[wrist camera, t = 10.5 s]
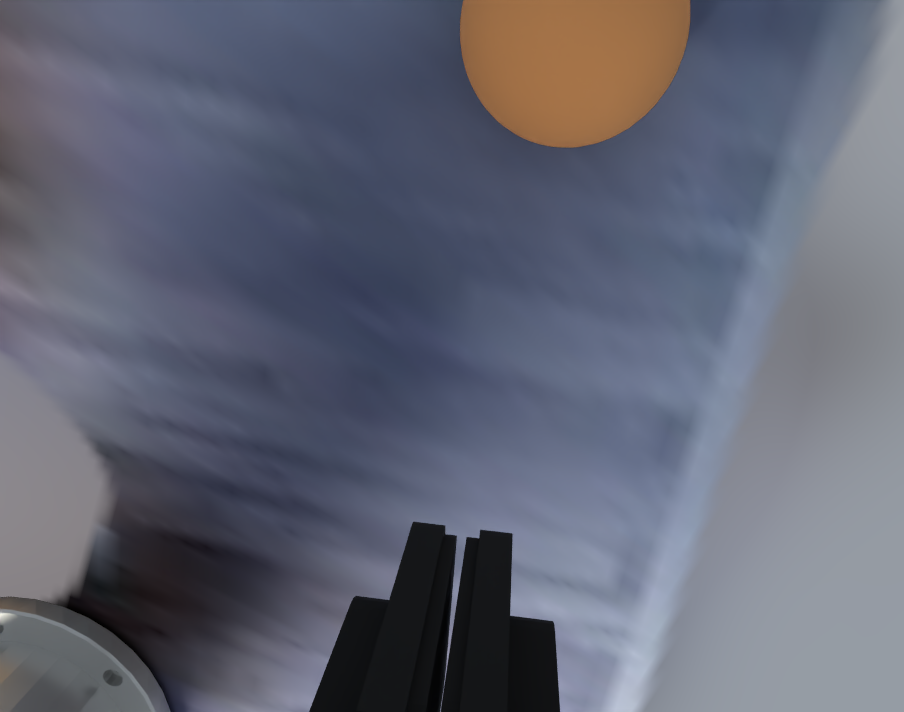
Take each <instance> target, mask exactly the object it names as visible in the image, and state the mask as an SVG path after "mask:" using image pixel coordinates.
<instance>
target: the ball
mask: <svg viewBox="0 0 904 712" xmlns="http://www.w3.org/2000/svg"><path fill="white" fill-rule="evenodd" d="M689 27H690V0H463V4H462V11H461V18H460V43H461V51H462V58H463V62H464V65H465V69H466V73H467V76H468V78H469V80H470V83H471V85H472V88H473V89H474V91H475V93H476V95H477V96H478V98H479V100H480V101H481V103H482V104H483V106H484V107H485V108H486V109H487V111H488V112H489V113H490V114H491V115H492V116H493V117H494V118H495V119H496V120H497V121H498V122H499V123H500V124H501V125H503V126H504V127H505V128H507V129H508V130H510V131H511V132H513V133H514V134H516V135H518V136H519V137H522V138H524V139H526V140H528V141H531V142H534V143H537V144H541V145H545V146H550V147H564V148H573V147H581V146H586V145H591V144H596V143H599V142H602V141H604V140H607V139H609V138H612V137H614V136H616V135H618V134H620V133H621V132H623V131H625V130H627V129H628V128H630V127H631V126H632V125H634V124H635V123H636V122H637V121H639V120H640V119H641V118H642V117H644V116H645V115H646V114H647V113H648V112H649V111H650V110H651V109H652V108H653V107H654V106H655V105H656V103H657V102H658V101H659V99H660V98H661V97H662V95H663V94H664V93H665V91H666V90H667V89H668V87H669V85H670V84H671V82H672V80H673V78H674V76H675V75H676V73H677V70H678V68H679V65H680V63H681V60H682V58H683V55H684V51H685V48H686V44H687V40H688V35H689Z"/></svg>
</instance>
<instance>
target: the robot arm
mask: <svg viewBox="0 0 904 712" xmlns="http://www.w3.org/2000/svg"><path fill="white" fill-rule="evenodd" d="M456 541H457V536H454V535H446V534H445V526H444V525H436V524H428V523H419V522H413V524H412V526H411V530H410V533H409V536H408V540H407V543H406V546H405V550H404V553H403V556H402V560H401V563H400V566H399V570H398V573H397V576H396V580H395V583H394V586H393V590H392V593H391V596H390V600H383V599H376V598H368V597H360V596H355V597H354V598H353V600H352V602H351V604H350V607H349V609H348V612H347V615H346V617H345V620H344V622H343V625H342V628H341V630H340V633H339V635H338V638H337V641H336V643H335V646H334V648H333V651H332V654H331V656H330V659H329V662H328V664H327V667H326V669H325V672H324V675H323V677H322V680H321V682H320V685H319V688H318V690H317V693H316V695H315V698H314V701H313V703H312V706H311V708H310V711H309V712H440V708H441V712H560V704H559V688H558V672H557V657H556V641H555V628H554V623H553V621H546V620H539V619H531V618H523V617H515V616H510V598H511V566H512V533H503V532H495V531H486V530H480V538H471V537H467V539H466V545H465V552H464V559H463V566H462V572H461V579H460V586H459V592H458V599H457V606H456V612H455V619H454V626H453V633H452V639H451V646H450V653H449V659H448V666H447V673H446V679H445V671H446V660H447V648H448V637H449V625H450V613H451V601H452V589H453V577H454V565H455V553H456ZM444 680H445V686H444ZM443 688H444V693H443ZM442 695H443V700H442ZM441 701H442V707H441ZM0 712H171V711H170V709H169V706H168V704H167V701H166V698H165V696H164V693H163V691H162V689H161V688H160V686H159V684H158V683H157V681H156V679H155V678H154V676H153V675H152V673H151V671H150V670H149V668H148V667H147V666H146V665H145V664H144V663H143V661H142V660H141V659H140V658H139V657H138V656H137V655H136V653H135V652H134V651H133V650H132V649H131V648H130V647H128V646H127V645H126V644H125V643H124V642H123V641H121V640H120V639H119V638H118V637H117V636H115V635H114V634H113V633H112V632H110V631H109V630H107V629H106V628H104V627H102V626H101V625H99V624H98V623H96V622H94V621H93V620H91V619H90V618H88V617H85V616H83V615H81V614H79V613H76V612H74V611H72V610H70V609H67V608H65V607H62V606H59V605H55V604H51V603H47V602H44V601H40V600H36V599H27V598H18V597H0Z"/></svg>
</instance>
